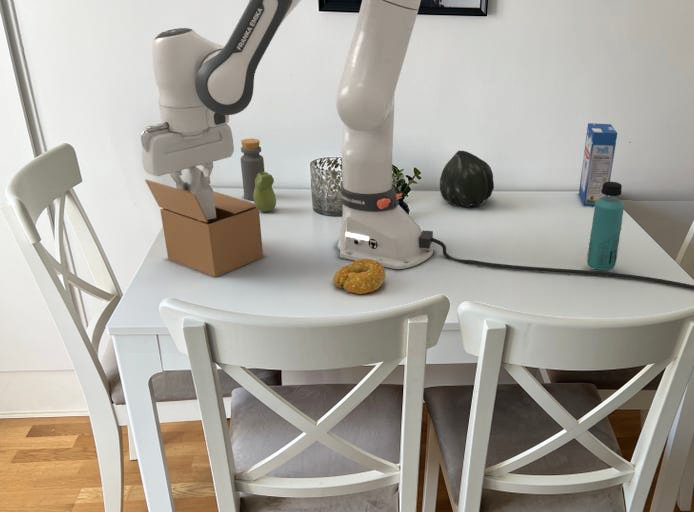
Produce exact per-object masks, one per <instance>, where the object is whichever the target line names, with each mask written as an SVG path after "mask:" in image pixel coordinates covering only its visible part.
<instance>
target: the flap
mask: <svg viewBox="0 0 694 512" xmlns="http://www.w3.org/2000/svg"><path fill="white" fill-rule="evenodd" d="M144 181H145V183H146V185H147V187H148V188H149V190H150V192H151V194H152V196H153V198H154V200H155V202H156V204H157V206H158V207H159V208H161V209H163V208H164V209H167V210H170V211H173V212H176V213H179V214H182V215H185V216H188V217H191V218H194V219H197V220H200V221H203V222H208V221H207V218H206V216H205V214H204V212H203V210H202V208H201V206H200V204H199V202H198V200H197V198H196V196H195V194H193V193H190V192H186V191H183V190H180V189H177V188H176V187H173V186H169V185H167V184H163V183H160V182H158V181H154V180H150V179H147V178H145V179H144Z"/></svg>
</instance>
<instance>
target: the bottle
mask: <svg viewBox="0 0 694 512" xmlns="http://www.w3.org/2000/svg"><path fill="white" fill-rule="evenodd" d="M260 143H261V141H260V139H258V138H243V139H241V140H240V144H241V147H240V152H241V153H242V154H243V155H242V156H241V157H240V168H241V177H242V189H243V196H244V199H246V200H247V201H254V198H253V193H254V189H255V178H256V177H257V174H259V172H266V171H265V162H264V156H262V155H261V154H260V153H261V152H262V147H261V146H260Z"/></svg>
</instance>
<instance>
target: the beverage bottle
mask: <svg viewBox="0 0 694 512" xmlns="http://www.w3.org/2000/svg"><path fill="white" fill-rule="evenodd" d="M622 188H623V185H622V183H620V182H617V181H610V182H605V183H604V184H603V187H602V191H601V192H602V194H604V195H608V196H604V197H601V198H600V199H598V200H597V201H596V202H595V207H594V208H593V209H594V210H593V216H592V223H591V230H590V235H589V242H588V248H587V256H586V263H587V266H588V267H589V268H591V269H593V270H595V271H611V270H613V269H615V266H616V265H617V264H616V263H617V260H618V254H619V252H618V251H619V247H620V246H619V245H620V239H621V237H620V236H621V231H622V227H623V226H622V225H623V216H624V210H625V204H624V202H623V201H622V200H621V199H620V198H619V197H618V196H621V195H622Z"/></svg>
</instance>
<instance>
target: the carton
mask: <svg viewBox="0 0 694 512" xmlns="http://www.w3.org/2000/svg"><path fill="white" fill-rule="evenodd" d="M213 194H214V202H215V210H216V218H214V219H209V220H207V221H208V222H203V221H198V220H197V219H194V218H191V217H188V216H185V215H182V214H179V213H176V212H173V211H170V210H167V209H164V208H161V209H159V211H160V217H161V223H162V229H163V236H164V241H165V248H166V254H167V259H168V261H171V262H174V263H175V264H176V263H177V264H179V265H182V266H184V267H187V268H190V269H193V270H194V271H199V272H200V273H203V274H205V275H208V276H211V277H213V278H217V277H219V276H221V275H224V274H226V273H228V272H231V271H233V270H235V269H238V268H240V267H243V266H245V265H248V264H250V263H252V262H254V261H257V260H260V259H261V258H264V250H263V238H262V228H261V218H260V210H259V208H258V207H256V206H258V204H255V203H254V202H250V201H249V200H244V199H241V198H237V197H234V196H231V195H228V194H224V193H221V192H219V191H218V192H217V191H214V190H213Z"/></svg>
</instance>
